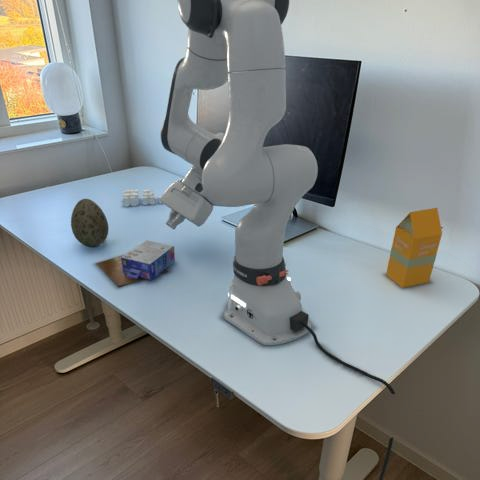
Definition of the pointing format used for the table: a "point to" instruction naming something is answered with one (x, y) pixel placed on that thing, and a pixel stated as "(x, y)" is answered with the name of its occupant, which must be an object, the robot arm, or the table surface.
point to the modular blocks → (133, 197)
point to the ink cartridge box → (148, 260)
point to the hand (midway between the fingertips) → (169, 226)
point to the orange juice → (415, 248)
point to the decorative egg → (89, 223)
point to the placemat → (118, 272)
